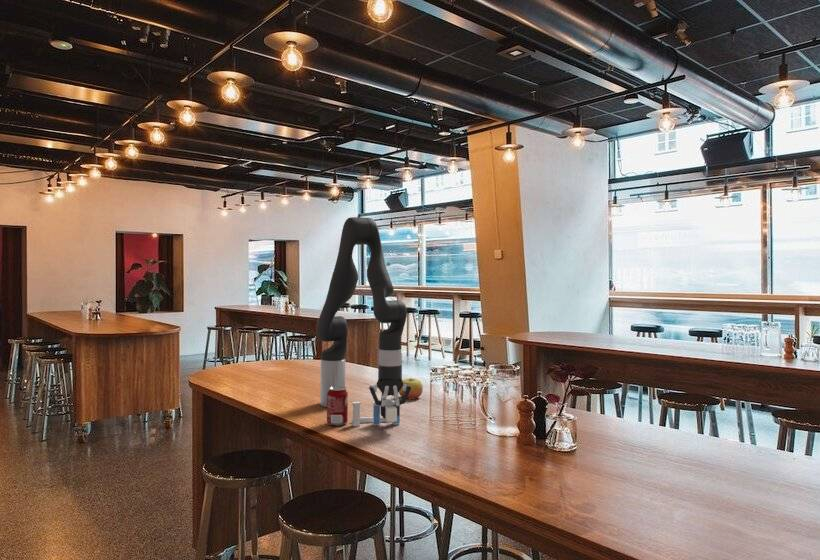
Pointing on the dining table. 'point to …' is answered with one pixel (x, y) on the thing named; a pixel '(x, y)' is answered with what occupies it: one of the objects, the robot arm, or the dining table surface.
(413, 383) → the apple
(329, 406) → the soda can
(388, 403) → the grey rectangular bar
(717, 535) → the dining table surface
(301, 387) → the dining table surface
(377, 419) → the upright peg stand
